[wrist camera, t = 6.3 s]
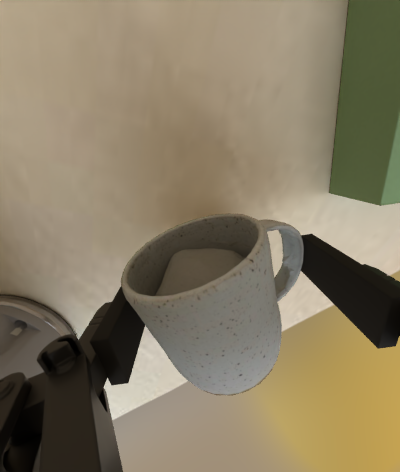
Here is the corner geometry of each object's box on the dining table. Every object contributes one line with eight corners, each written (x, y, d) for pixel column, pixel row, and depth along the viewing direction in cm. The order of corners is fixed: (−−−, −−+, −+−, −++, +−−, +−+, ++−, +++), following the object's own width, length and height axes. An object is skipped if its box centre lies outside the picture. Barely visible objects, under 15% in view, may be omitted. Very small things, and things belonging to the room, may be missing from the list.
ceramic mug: (181, 318, 17) (176, 436, 9) (139, 237, 14) (86, 320, 7) (300, 280, 16) (391, 377, 9) (282, 185, 13) (399, 215, 6)
